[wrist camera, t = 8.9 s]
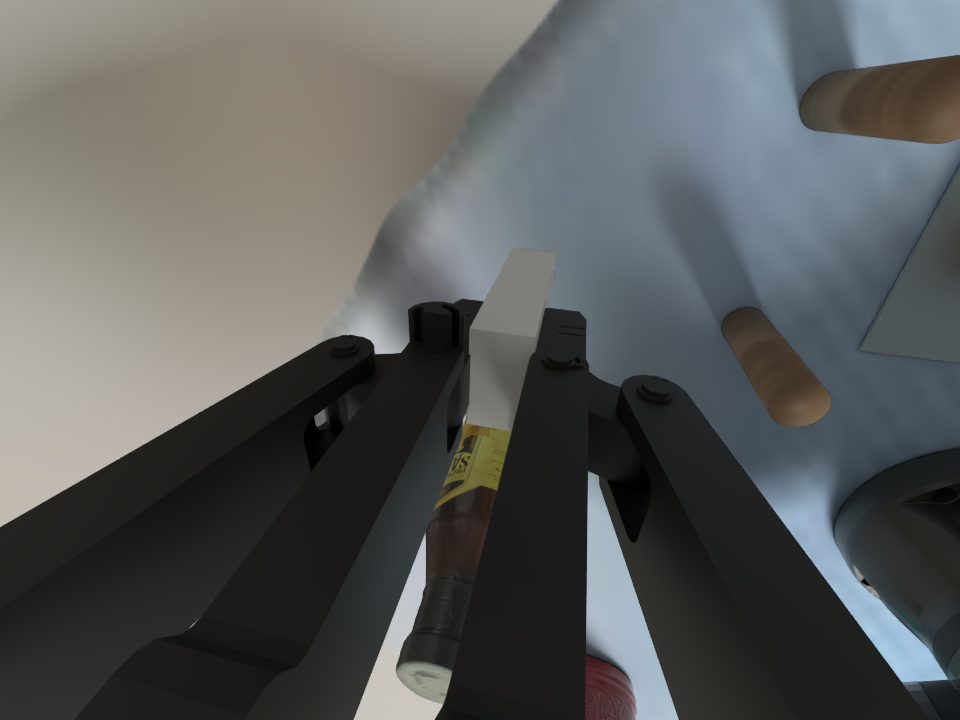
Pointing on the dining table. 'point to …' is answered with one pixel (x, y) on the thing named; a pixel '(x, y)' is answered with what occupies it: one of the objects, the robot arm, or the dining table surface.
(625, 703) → the canister
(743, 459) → the dining table surface
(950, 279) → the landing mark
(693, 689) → the robot arm
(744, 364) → the post
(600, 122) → the dining table surface
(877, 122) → the post
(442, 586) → the sauce bottle
